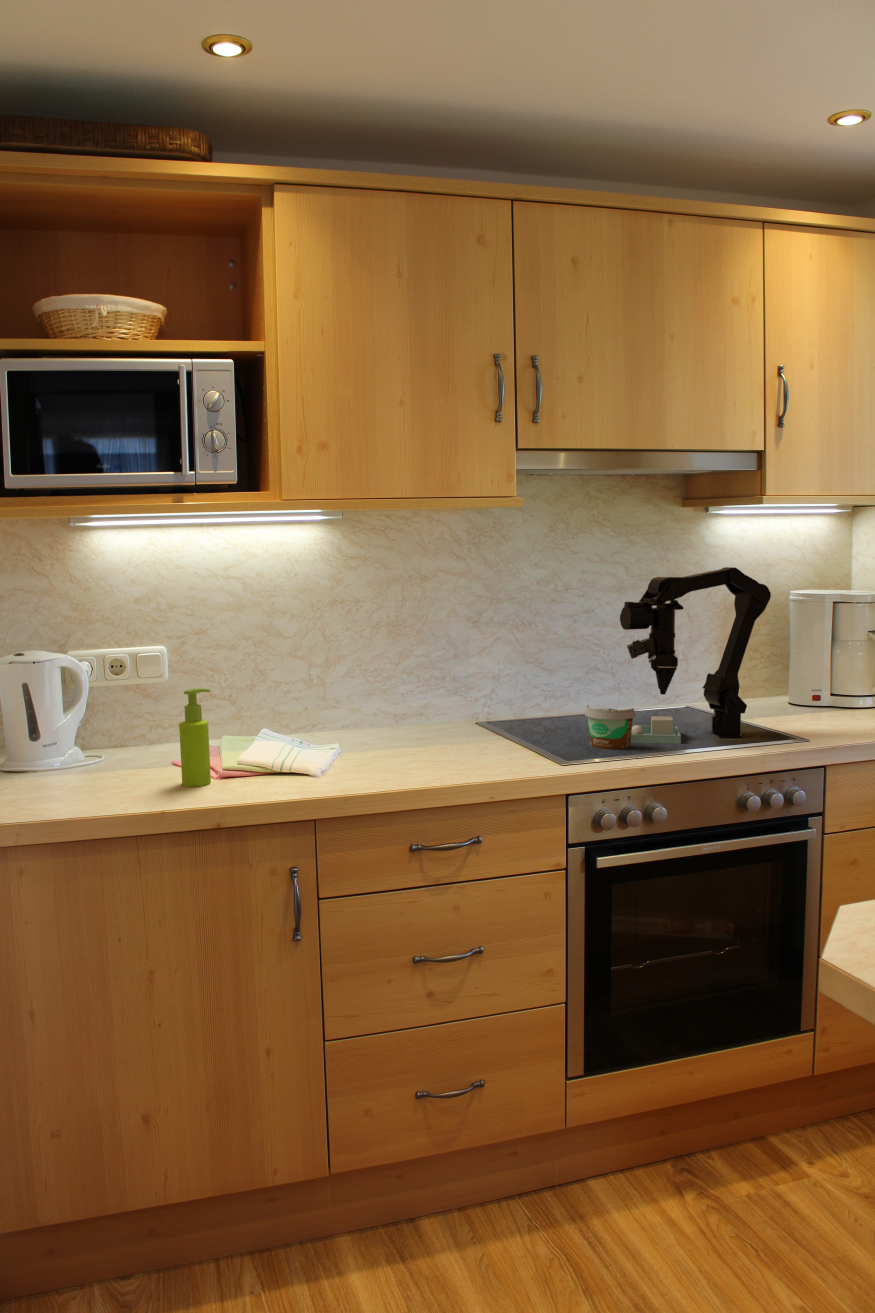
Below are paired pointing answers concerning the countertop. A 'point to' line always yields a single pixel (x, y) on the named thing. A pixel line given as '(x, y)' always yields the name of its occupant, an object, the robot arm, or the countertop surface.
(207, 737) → the soap dispenser
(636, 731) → the pebble
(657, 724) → the beige cube
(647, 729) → the tray
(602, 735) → the food container
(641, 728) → the pebble
